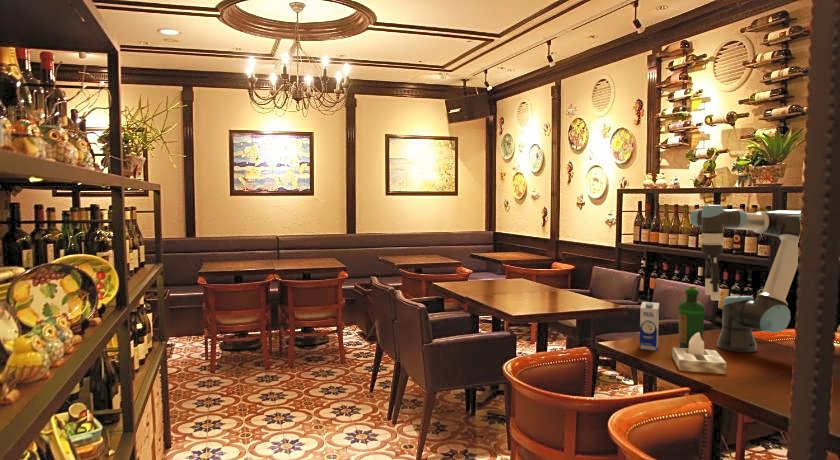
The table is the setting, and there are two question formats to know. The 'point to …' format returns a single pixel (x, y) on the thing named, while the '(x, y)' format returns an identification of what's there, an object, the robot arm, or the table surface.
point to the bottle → (690, 317)
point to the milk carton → (649, 326)
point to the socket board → (699, 361)
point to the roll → (696, 345)
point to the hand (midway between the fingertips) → (711, 297)
